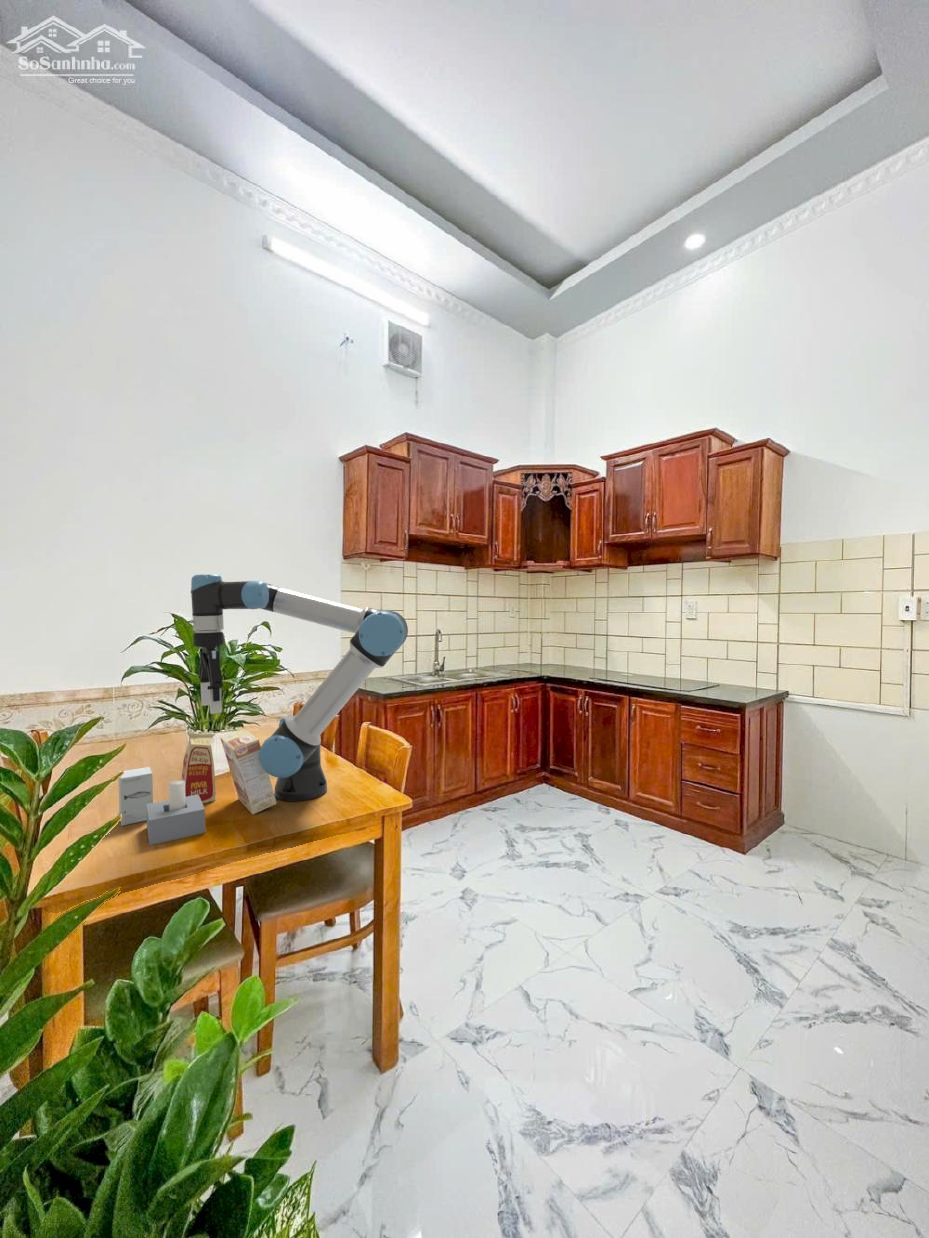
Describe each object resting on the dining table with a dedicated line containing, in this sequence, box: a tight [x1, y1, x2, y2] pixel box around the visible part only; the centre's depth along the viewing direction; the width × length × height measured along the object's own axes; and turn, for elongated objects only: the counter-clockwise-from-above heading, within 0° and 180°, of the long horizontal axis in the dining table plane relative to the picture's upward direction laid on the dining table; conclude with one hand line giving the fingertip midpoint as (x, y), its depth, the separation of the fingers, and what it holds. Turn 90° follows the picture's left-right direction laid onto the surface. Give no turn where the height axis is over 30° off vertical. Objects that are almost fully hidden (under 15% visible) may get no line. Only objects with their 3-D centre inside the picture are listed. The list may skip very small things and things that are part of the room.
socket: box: [146, 794, 206, 846], centre depth 132 cm, size 12×12×6 cm
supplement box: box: [118, 766, 154, 827], centre depth 139 cm, size 7×7×13 cm
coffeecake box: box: [219, 728, 277, 815], centre depth 147 cm, size 15×7×20 cm, turn 37°
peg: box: [168, 779, 185, 811], centre depth 132 cm, size 4×4×12 cm
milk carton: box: [181, 732, 217, 804], centre depth 153 cm, size 9×9×20 cm
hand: (211, 709), depth 143 cm, fingers open, 13 cm apart
